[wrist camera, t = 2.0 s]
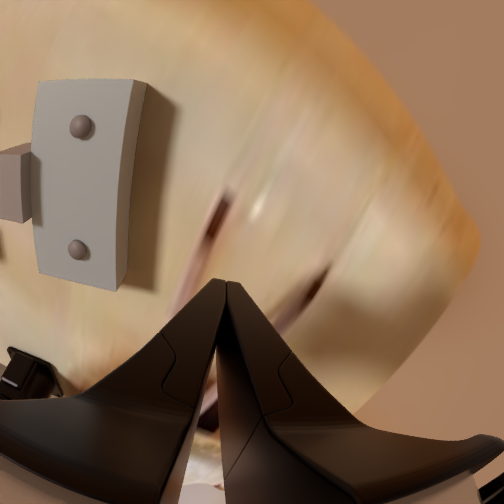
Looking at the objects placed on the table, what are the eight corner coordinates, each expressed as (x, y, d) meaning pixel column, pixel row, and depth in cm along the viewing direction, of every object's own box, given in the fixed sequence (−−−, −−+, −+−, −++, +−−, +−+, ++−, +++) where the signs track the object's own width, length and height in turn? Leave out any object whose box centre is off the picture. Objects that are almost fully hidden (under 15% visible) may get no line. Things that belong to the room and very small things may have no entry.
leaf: (148, 83, 13) (126, 77, 10) (128, 270, 18) (111, 301, 15) (33, 84, 12) (-1, 85, 9) (31, 249, 17) (6, 273, 14)
